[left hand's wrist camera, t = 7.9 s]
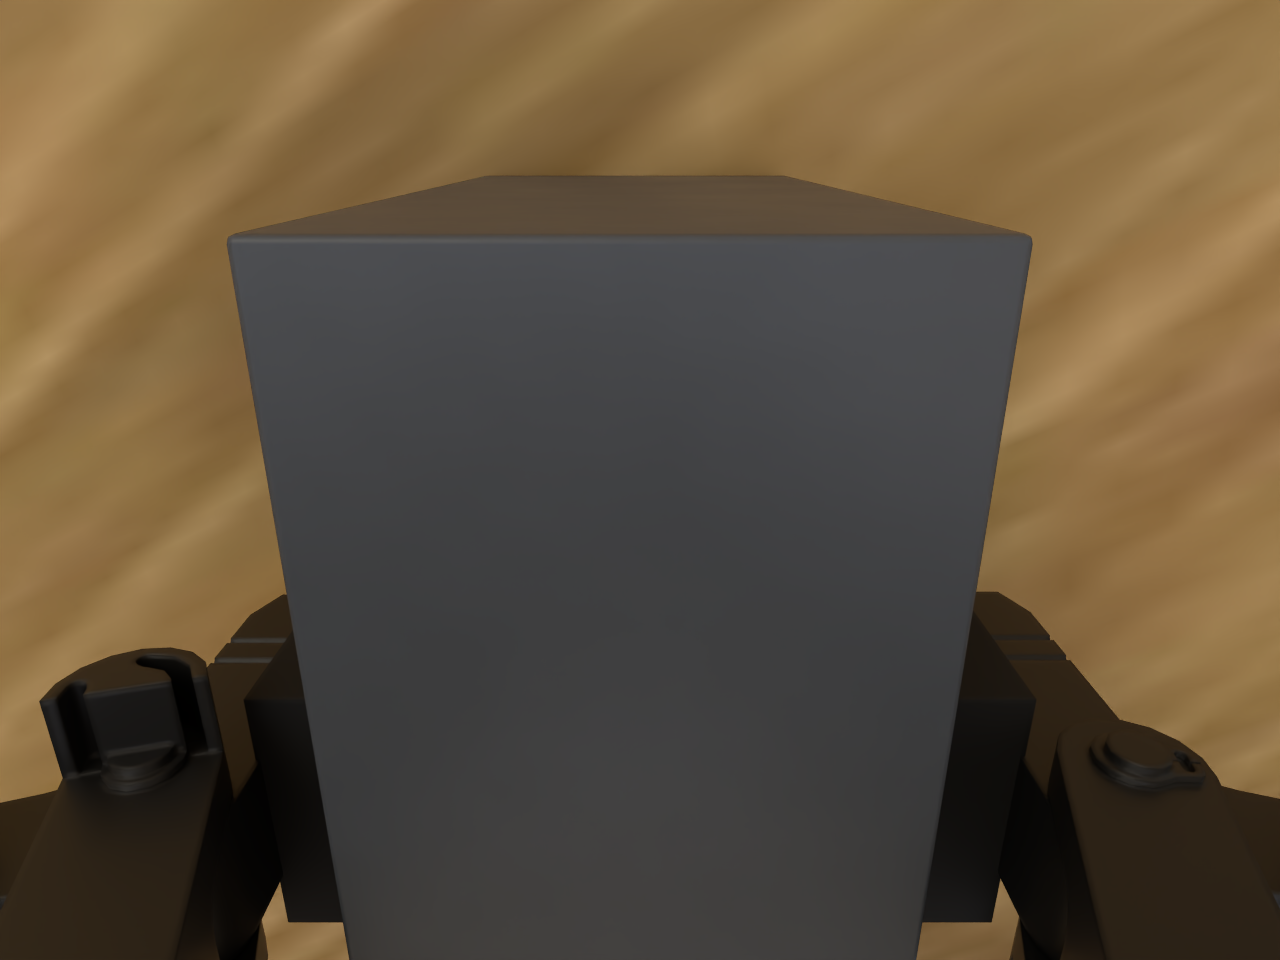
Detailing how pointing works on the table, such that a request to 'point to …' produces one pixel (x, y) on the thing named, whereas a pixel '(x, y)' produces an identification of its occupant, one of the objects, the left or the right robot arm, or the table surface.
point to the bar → (631, 553)
